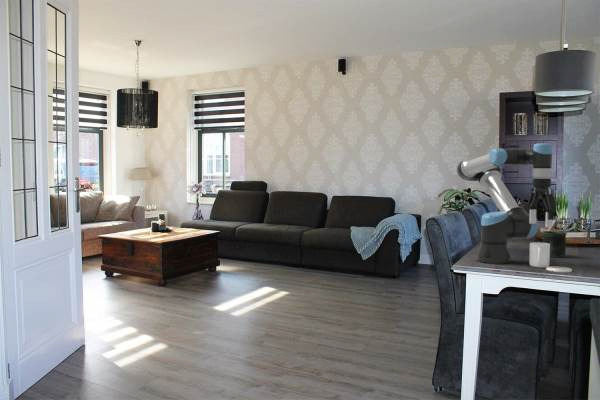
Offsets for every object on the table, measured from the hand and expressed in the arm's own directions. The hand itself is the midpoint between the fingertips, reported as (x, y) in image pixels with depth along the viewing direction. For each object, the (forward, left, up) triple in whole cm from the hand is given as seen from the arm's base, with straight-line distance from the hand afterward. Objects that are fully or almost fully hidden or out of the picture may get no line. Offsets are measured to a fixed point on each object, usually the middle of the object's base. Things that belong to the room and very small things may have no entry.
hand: (540, 225), depth 229 cm
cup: (0, 0, -19) cm, 19 cm away
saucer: (+4, -9, -19) cm, 21 cm away
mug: (+20, +27, -19) cm, 38 cm away
